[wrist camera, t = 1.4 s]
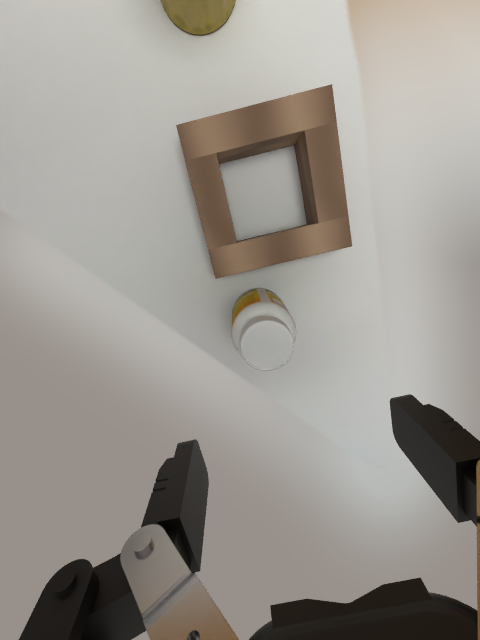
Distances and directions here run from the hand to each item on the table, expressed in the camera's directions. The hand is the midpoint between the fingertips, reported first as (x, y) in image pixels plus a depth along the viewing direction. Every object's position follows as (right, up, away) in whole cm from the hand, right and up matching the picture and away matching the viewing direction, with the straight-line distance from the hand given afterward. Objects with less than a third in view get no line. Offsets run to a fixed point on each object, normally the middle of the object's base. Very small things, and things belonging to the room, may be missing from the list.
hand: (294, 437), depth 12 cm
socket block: (0, +16, +16) cm, 23 cm away
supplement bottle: (0, +6, +19) cm, 20 cm away
